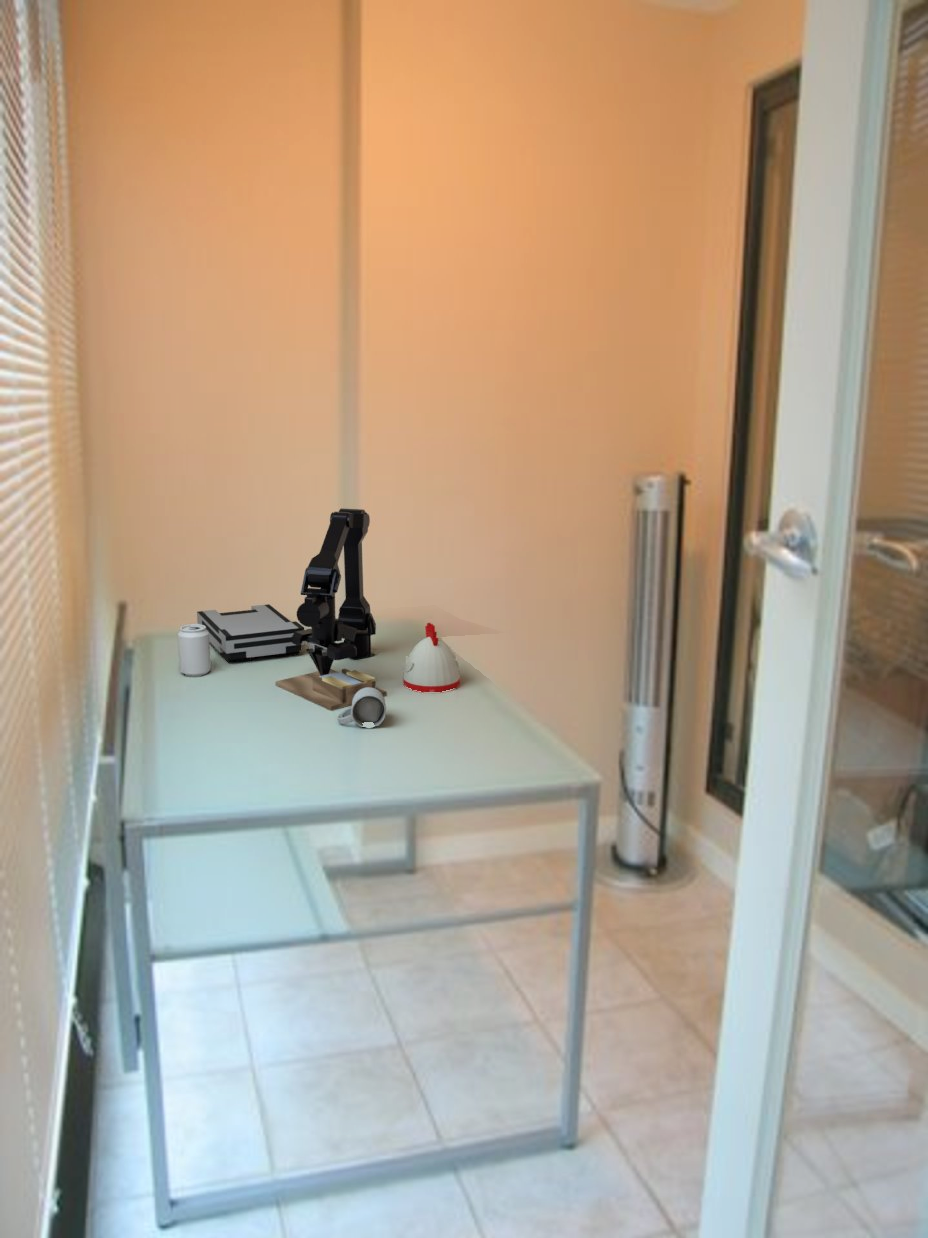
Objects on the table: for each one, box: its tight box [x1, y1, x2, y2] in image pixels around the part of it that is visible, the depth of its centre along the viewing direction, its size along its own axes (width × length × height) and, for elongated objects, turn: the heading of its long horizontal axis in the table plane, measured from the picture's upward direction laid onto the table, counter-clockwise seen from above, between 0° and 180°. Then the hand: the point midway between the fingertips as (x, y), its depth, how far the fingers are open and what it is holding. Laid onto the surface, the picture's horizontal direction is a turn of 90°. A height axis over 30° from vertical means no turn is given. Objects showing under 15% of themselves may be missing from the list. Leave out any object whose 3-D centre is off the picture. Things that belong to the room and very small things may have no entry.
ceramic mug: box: [336, 687, 387, 728], centre depth 230 cm, size 11×8×8 cm
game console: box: [196, 604, 306, 664], centre depth 285 cm, size 21×32×8 cm, turn 27°
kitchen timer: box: [402, 622, 461, 693], centre depth 255 cm, size 14×14×15 cm
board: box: [275, 668, 388, 712], centre depth 250 cm, size 16×23×5 cm
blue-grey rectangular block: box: [318, 671, 362, 685], centre depth 247 cm, size 6×10×3 cm, turn 39°
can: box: [177, 623, 212, 677], centre depth 261 cm, size 8×8×12 cm
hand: (324, 678), depth 252 cm, fingers closed
